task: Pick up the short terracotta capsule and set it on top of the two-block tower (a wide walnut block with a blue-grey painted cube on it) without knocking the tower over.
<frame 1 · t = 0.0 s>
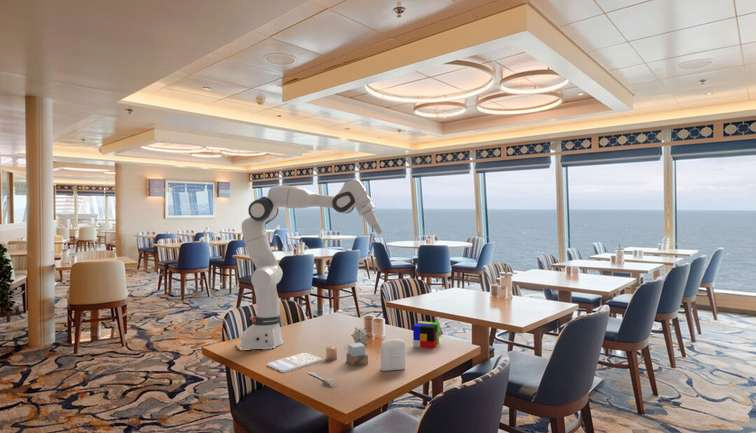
hand: (379, 233, 213), 54 cm above the table, tool tilted 30°, fingers open, 8 cm apart
blue-grey cube: (356, 354, 187), point 4 cm above the table, touching walnut block
terracotta capsule: (331, 358, 192), on the table
fork: (322, 381, 168), on the table
walnut block: (357, 363, 187), on the table, touching blue-grey cube
calculator: (294, 365, 187), on the table
puzzle toy: (426, 345, 212), on the table
game die: (360, 344, 214), on the table
photo printer: (393, 369, 179), on the table
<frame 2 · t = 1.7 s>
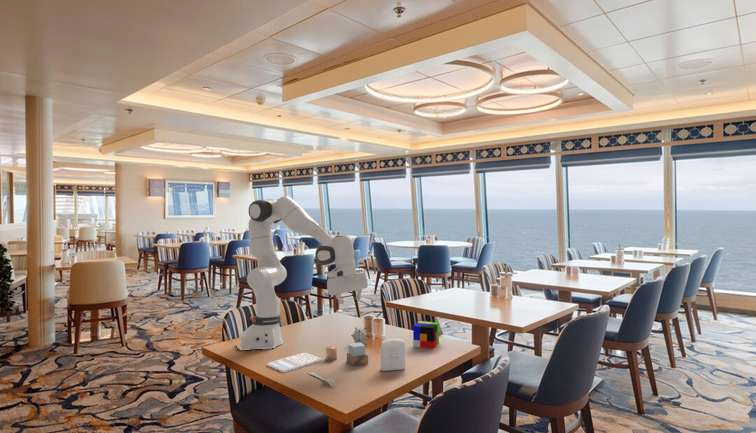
hand: (349, 301, 195), 25 cm above the table, tool pointing down, fingers open, 8 cm apart
nothing on the table moved.
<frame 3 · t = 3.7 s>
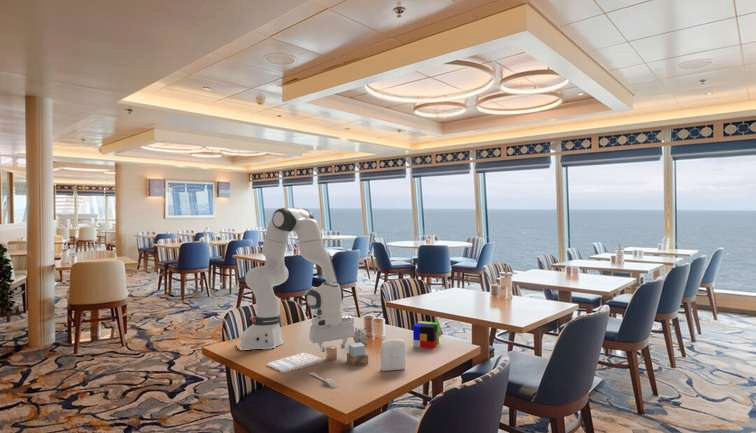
hand: (332, 350, 192), 4 cm above the table, tool pointing down, fingers open, 8 cm apart
blue-grey cube: (357, 354, 187), point 4 cm above the table
walnut block: (357, 363, 187), on the table
everything else where it was.
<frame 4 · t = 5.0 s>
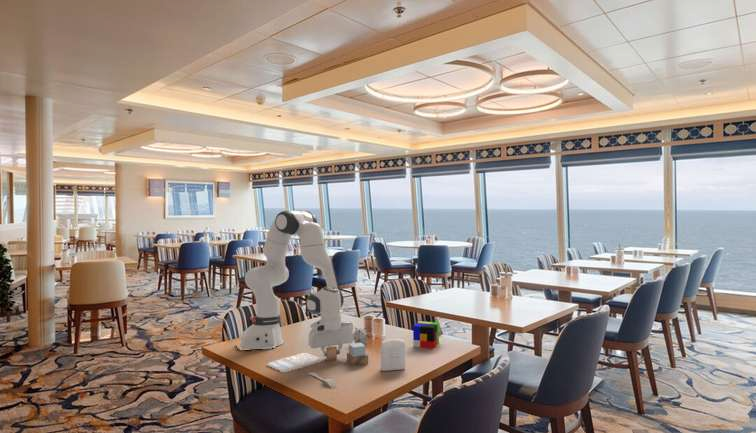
hand: (331, 355, 192), 2 cm above the table, tool pointing down, fingers closed on terracotta capsule, 5 cm apart
blue-grey cube: (357, 354, 187), point 4 cm above the table, touching walnut block
terracotta capsule: (331, 358, 192), on the table, touching gripper
walnut block: (357, 363, 187), on the table, touching blue-grey cube
everything else where it was.
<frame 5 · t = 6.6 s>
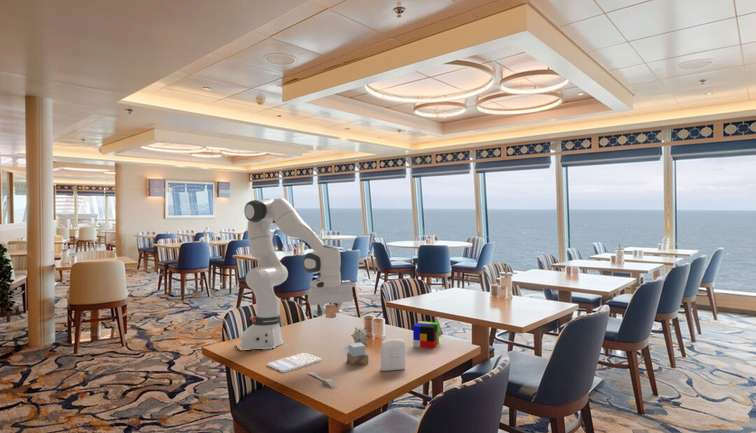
hand: (330, 313, 192), 20 cm above the table, tool pointing down, fingers closed on terracotta capsule, 5 cm apart
terracotta capsule: (330, 316, 192), point 19 cm above the table, touching gripper
everything else where it was.
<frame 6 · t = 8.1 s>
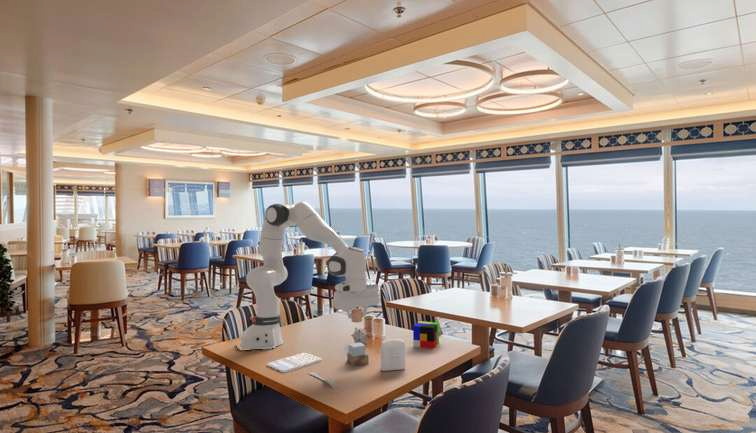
hand: (356, 317, 187), 19 cm above the table, tool pointing down, fingers closed on terracotta capsule, 5 cm apart
blue-grey cube: (357, 354, 187), point 4 cm above the table
terracotta capsule: (356, 321, 187), point 18 cm above the table, touching gripper
walnut block: (357, 363, 187), on the table
everything else where it was.
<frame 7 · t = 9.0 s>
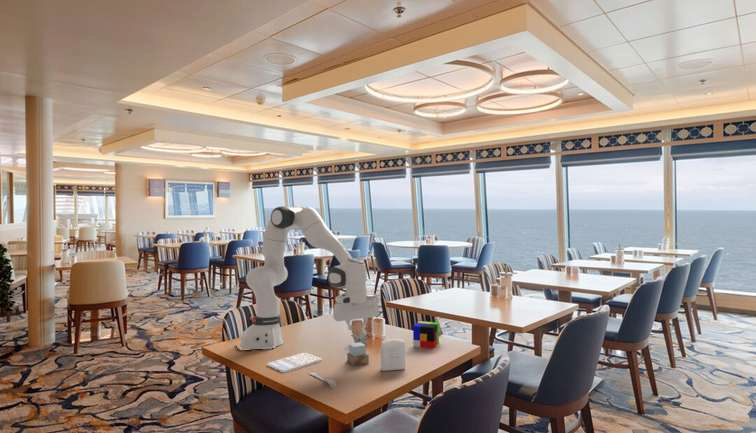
hand: (356, 328, 187), 14 cm above the table, tool pointing down, fingers closed on terracotta capsule, 5 cm apart
blue-grey cube: (357, 353, 187), point 4 cm above the table, touching walnut block
terracotta capsule: (357, 332, 187), point 13 cm above the table, touching gripper
walnut block: (357, 363, 187), on the table, touching blue-grey cube
everything else where it was.
when the fingers open (11 cm above the table, at t = 10.7 s): terracotta capsule drops 1 cm, resting on blue-grey cube.
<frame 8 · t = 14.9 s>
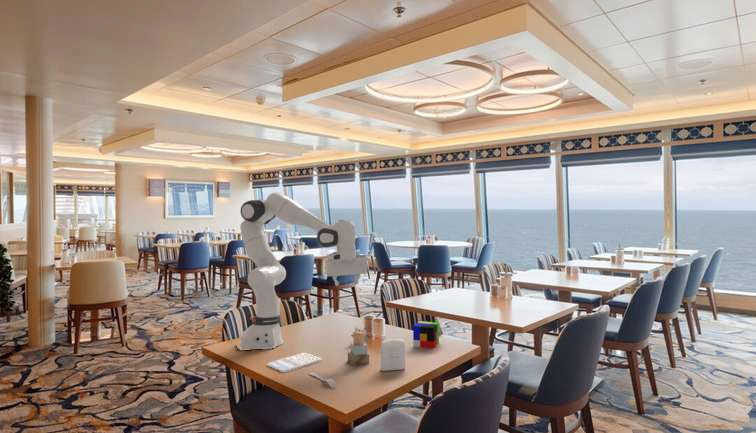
hand: (346, 284, 202), 31 cm above the table, tool pointing down, fingers open, 8 cm apart
blue-grey cube: (359, 353, 188), point 4 cm above the table, touching terracotta capsule, walnut block
terracotta capsule: (358, 344, 188), point 8 cm above the table, touching blue-grey cube
everything else where it was.
at the end: terracotta capsule 0.3 cm off-centre on the walnut block, point 8.0 cm above the walnut block's base; blue-grey cube tilted 0°; the gripper is holding nothing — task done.
